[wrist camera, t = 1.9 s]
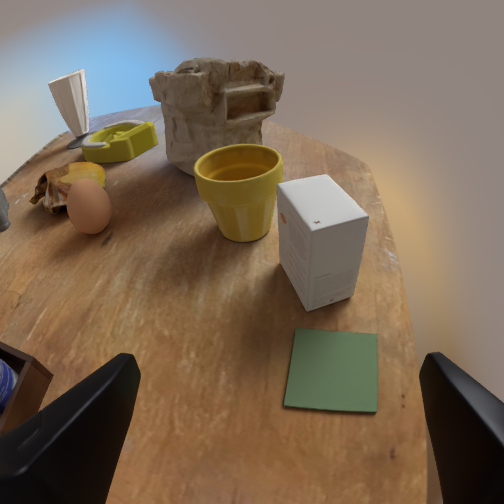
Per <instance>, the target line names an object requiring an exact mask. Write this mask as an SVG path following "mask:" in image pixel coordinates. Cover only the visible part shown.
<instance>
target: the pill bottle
mask: <svg viewBox="0 0 504 504" xmlns="http://www.w3.org/2000/svg"><path fill="white" fill-rule="evenodd" d="M18 377H19V375H18V374H17V373H16V372H15V371H14V370H12V369H11V368H10V367H9V366H8V365H7V364H5V363H4V362H3V361H2V360H1V359H0V415H1V416H2V414H3V412H4V409H5V407H6V405H7V402H8V400H9V398H10V395H11V393H12V391H13V388H14V386H15V384H16V382H17V380H18Z"/></svg>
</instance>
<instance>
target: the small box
mask: <svg viewBox="0 0 504 504" xmlns="http://www.w3.org/2000/svg"><path fill="white" fill-rule="evenodd" d="M277 207H278V230H279V257H280V263H281V265H282V267H283V268H284V270H285V272H286V274H287V276H288V278H289V279H290V281H291V283H292V285H293V287H294V289H295V291H296V293H297V294H298V296H299V298H300V300H301V302H302V304H303V306H304V308H305V310H306V311H307V312H308V311H311V310H314V309H317V308H320V307H323V306H326V305H328V304H331V303H334V302H337V301H340V300H343V299H345V298H348V297H351V296H353V295H354V291H355V286H356V282H357V277H358V273H359V268H360V263H361V258H362V253H363V248H364V243H365V237H366V231H367V226H368V220H369V215H368V214H367V213H366V212H365V211H364V210H363V209H362V208H361V207H360V206H359V205H358V204H357V203H356V202H355V201H354V200H353V199H352V198H351V197H350V196H349V195H348V194H347V193H346V192H345V191H344V190H343V189H342V188H341V187H340V186H339V185H338V184H337V183H336V182H334V181H333V180H332V179H331V178H330V177H329V176H328V175H327V174H325V175H318V176H313V177H308V178H302V179H297V180H292V181H287V182H283V183H278V184H277Z"/></svg>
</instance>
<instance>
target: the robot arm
mask: <svg viewBox="0 0 504 504" xmlns="http://www.w3.org/2000/svg"><path fill="white" fill-rule="evenodd" d="M140 379H141V373H140V370H139V367H138V365H137V362H136V360H135V357H134V356H133V355H132V354H128V353H120V354H118V355H117V356H115V357H114V358H113V359H111V360H110V361H109V362H107V363H106V364H104V365H103V366H102V367H100V368H99V369H97V370H96V371H95V372H93V373H92V374H91V375H89V376H88V377H86V378H85V379H84V380H82V381H81V382H79V383H78V384H77V385H75V386H74V387H72V388H71V389H70V390H68V391H67V392H66V393H64V394H63V395H61V396H60V397H59V398H57V399H56V400H54V401H53V402H52V403H50V404H49V405H47V406H46V407H45V408H43V409H42V410H40V411H39V412H38V413H36V414H35V415H33V416H32V417H30V418H29V419H28V420H26V421H25V422H23V423H22V424H20V425H18V426H17V427H15V428H13V429H12V430H10V431H8V432H6V433H5V434H3V435H1V436H0V504H105V503H106V500H107V496H108V493H109V489H110V486H111V482H112V479H113V476H114V472H115V469H116V466H117V463H118V459H119V456H120V453H121V450H122V447H123V444H124V441H125V437H126V434H127V431H128V428H129V425H130V422H131V419H132V415H133V411H134V406H135V401H136V397H137V392H138V388H139V383H140ZM419 380H420V385H421V391H422V397H423V404H424V411H425V417H426V422H427V426H428V430H429V434H430V438H431V442H432V447H433V451H434V456H435V460H436V465H437V470H438V475H439V480H440V486H441V492H442V498H443V504H504V403H503V402H502V401H501V400H499V399H498V398H497V397H496V396H495V395H493V394H492V393H491V392H490V391H488V390H487V389H486V388H485V387H483V386H482V385H481V384H480V383H478V382H477V381H476V380H475V379H473V378H472V377H471V376H470V375H469V374H467V373H466V372H465V371H463V370H462V369H461V368H460V367H458V366H457V365H456V364H455V363H453V362H452V361H451V360H450V359H448V358H447V357H446V356H444V355H443V354H442V353H440V352H432V353H428V354H427V355H426V357H425V360H424V362H423V365H422V367H421V370H420V373H419Z"/></svg>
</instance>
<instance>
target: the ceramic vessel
mask: <svg viewBox="0 0 504 504" xmlns="http://www.w3.org/2000/svg"><path fill="white" fill-rule="evenodd" d="M283 82H284V73H280V72H277V71H270V70H269V69H268V68H267V67H266V66H264V65H263V64H262V63H260V62H257V61H256V60H255V59H250V60H246V61H244V62H243V61H238V60H230V61H229V62H226V61H223V60H220V59H214V58H195V59H193V60H190V59H188V60H186V61H183V62H182V63H181V64H180V65H179V66H178V67H177V68H176V69H175V70H174V71H167V72H164V71H159V72H157V73H155V76H154V77H151V78H150V79H149V84H150V86H151V89H152V92H153V96H154V100H156V101H158V102H161V108H162V113H163V117H164V123H165V137H166V154H167V158H168V159H169V161H170V162H171V163H173V164H174V165H175V166H177V167H178V168H179V169H181V170H183V171H184V172H186V173H187V174H190V175H193V176H194V165H195V163H196V162H197V160H198V159H199V158H201V157H202V156H203V155H205V154H206V153H208V152H210V151H213V150H215V149H218V148H221V147H225V146H230V145H237V144H257V145H262V134H261V126H262V121H263V119H265V118H267V117H269V116H271V115H273V114H275V109H276V104H275V102H278V101H279V99H280V97H281V94H282V89H283Z"/></svg>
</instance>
